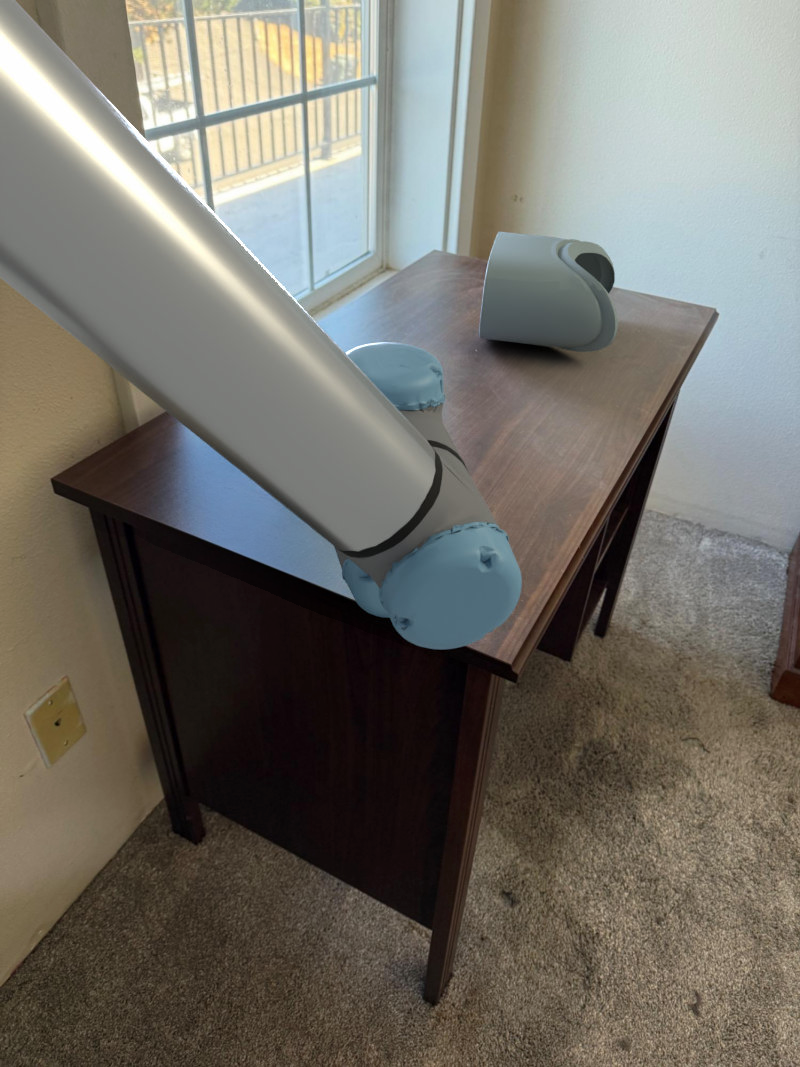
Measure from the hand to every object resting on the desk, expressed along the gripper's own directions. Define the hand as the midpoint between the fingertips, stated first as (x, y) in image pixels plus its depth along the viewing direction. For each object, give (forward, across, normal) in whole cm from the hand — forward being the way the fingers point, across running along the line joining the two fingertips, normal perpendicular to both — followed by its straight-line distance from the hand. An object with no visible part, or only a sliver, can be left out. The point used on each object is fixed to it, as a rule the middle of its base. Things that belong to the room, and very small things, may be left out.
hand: (303, 362), depth 83 cm
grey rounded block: (+22, +42, -10) cm, 48 cm away
